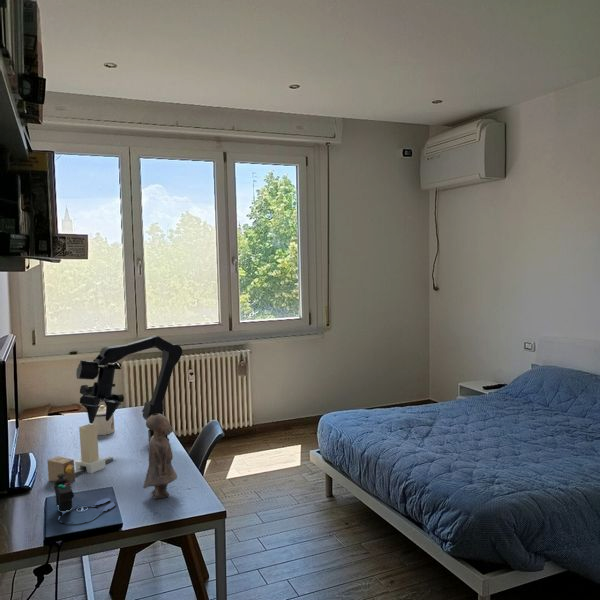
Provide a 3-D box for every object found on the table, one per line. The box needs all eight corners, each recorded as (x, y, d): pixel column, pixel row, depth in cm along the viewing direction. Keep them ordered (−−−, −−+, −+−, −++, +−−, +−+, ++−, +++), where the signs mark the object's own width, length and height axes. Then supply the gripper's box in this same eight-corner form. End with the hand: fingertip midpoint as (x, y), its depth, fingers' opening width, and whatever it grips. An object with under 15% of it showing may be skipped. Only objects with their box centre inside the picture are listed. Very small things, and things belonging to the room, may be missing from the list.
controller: (69, 502, 165) (67, 470, 164) (77, 518, 154) (74, 483, 154) (53, 506, 163) (51, 473, 162) (60, 522, 152) (58, 487, 152)
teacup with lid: (117, 433, 233) (115, 406, 232) (94, 437, 229) (92, 409, 228) (111, 426, 243) (109, 400, 243) (89, 430, 239) (87, 403, 238)
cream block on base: (90, 464, 197) (87, 422, 196) (105, 467, 193) (102, 425, 192) (75, 469, 192) (72, 427, 191) (91, 473, 188) (88, 430, 187)
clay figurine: (182, 499, 164) (178, 416, 162) (148, 507, 160) (143, 422, 158) (172, 484, 176) (168, 407, 174) (140, 491, 171) (135, 412, 170)
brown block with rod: (103, 458, 202) (102, 439, 202) (120, 462, 198) (118, 442, 198) (48, 480, 183) (47, 460, 182) (65, 485, 179) (64, 464, 178)
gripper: (103, 376, 219) (97, 415, 218) (70, 378, 202) (64, 421, 201) (127, 380, 216) (121, 420, 215) (95, 382, 198) (89, 426, 197)
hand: (99, 422), depth 207 cm, fingers open, 9 cm apart
